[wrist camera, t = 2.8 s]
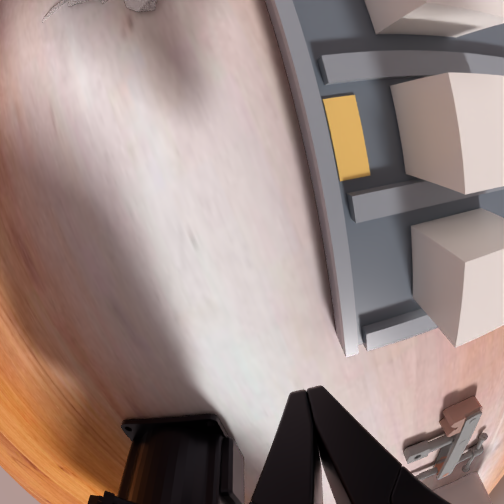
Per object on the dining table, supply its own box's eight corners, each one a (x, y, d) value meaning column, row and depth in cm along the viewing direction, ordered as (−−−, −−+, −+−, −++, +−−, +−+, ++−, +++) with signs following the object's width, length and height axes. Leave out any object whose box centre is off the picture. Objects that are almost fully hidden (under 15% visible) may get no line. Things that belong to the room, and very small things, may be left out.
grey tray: (336, 334, 15) (346, 357, 13) (248, -48, 8) (249, -69, 7) (561, 250, 14) (577, 259, 12) (529, -11, 7) (546, -16, 6)
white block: (412, 298, 13) (455, 347, 9) (410, 225, 12) (465, 262, 8) (478, 275, 12) (525, 313, 9) (481, 207, 11) (538, 235, 8)
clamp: (418, 440, 16) (520, 388, 16) (408, 418, 19) (507, 372, 18) (393, 507, 22) (473, 473, 21) (388, 492, 24) (466, 459, 23)
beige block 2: (405, 174, 11) (465, 194, 7) (389, 86, 10) (448, 72, 6) (479, 161, 11) (541, 177, 7) (467, 83, 9) (530, 78, 6)
